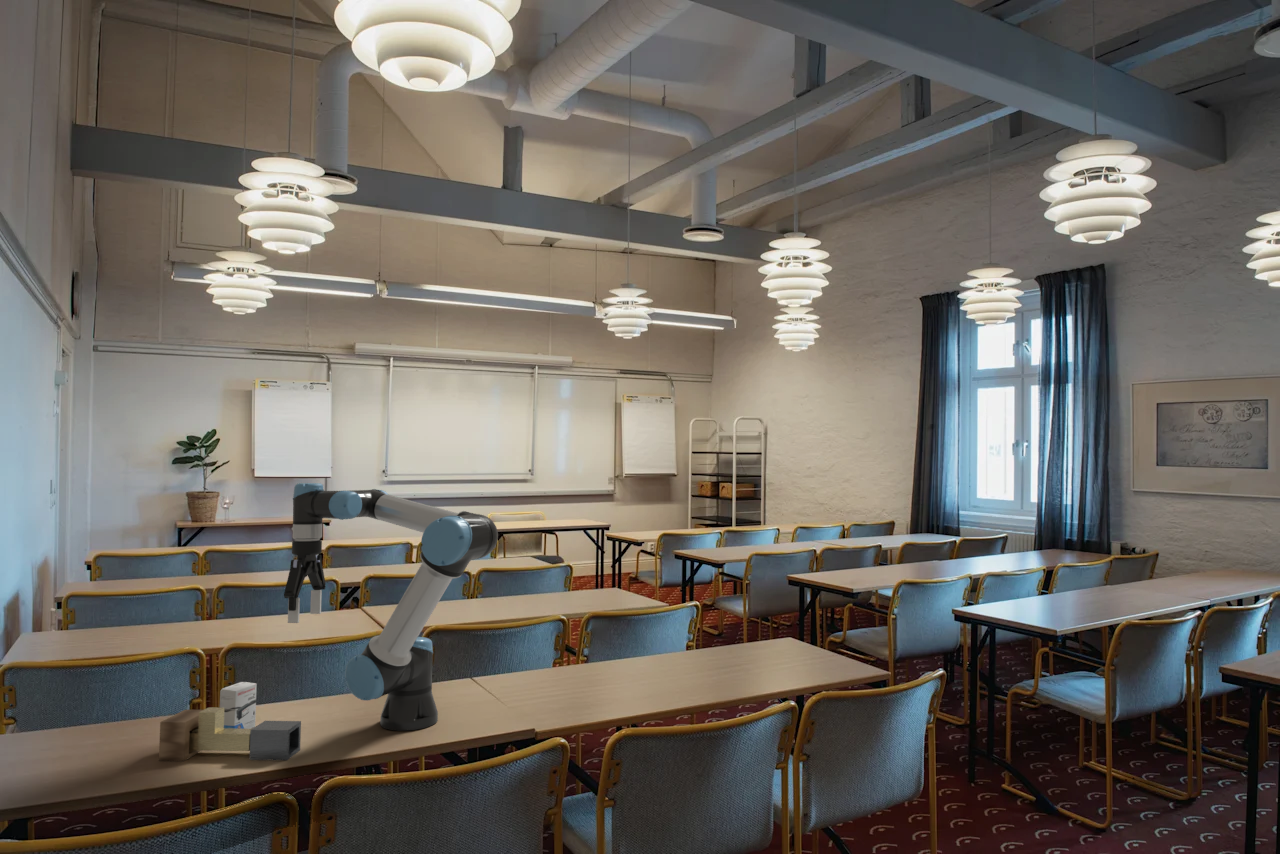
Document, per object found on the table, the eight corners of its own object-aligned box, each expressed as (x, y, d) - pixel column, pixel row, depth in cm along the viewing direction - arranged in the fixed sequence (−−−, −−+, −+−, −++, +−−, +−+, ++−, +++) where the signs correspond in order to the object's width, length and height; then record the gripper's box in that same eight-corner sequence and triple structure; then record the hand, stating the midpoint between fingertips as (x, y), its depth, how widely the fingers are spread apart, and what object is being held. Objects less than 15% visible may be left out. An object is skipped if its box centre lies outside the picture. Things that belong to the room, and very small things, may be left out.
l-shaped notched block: (257, 745, 195) (258, 708, 195) (248, 751, 191) (250, 712, 191) (189, 744, 195) (190, 707, 196) (179, 750, 191) (180, 712, 192)
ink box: (234, 737, 205) (235, 690, 206) (217, 735, 206) (218, 689, 207) (256, 726, 214) (257, 682, 214) (240, 725, 215) (241, 681, 215)
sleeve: (300, 750, 196) (301, 721, 196) (286, 760, 189) (287, 730, 189) (264, 749, 196) (265, 720, 197) (249, 759, 189) (250, 729, 190)
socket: (207, 746, 198) (209, 709, 199) (183, 761, 188) (185, 722, 189) (184, 746, 198) (185, 709, 199) (158, 760, 188) (160, 722, 189)
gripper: (313, 535, 230) (311, 609, 229) (271, 543, 205) (268, 626, 204) (339, 535, 230) (337, 610, 229) (300, 543, 205) (297, 627, 204)
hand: (304, 618), depth 216 cm, fingers open, 13 cm apart
